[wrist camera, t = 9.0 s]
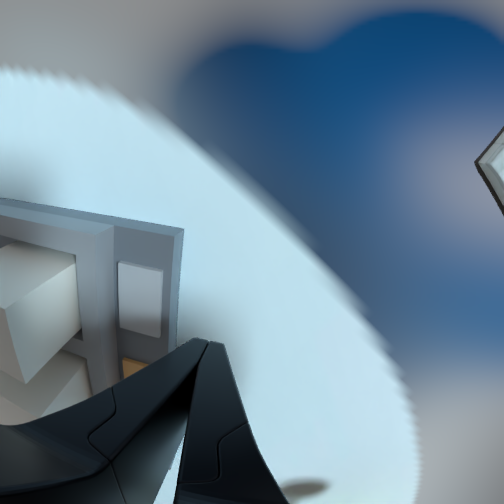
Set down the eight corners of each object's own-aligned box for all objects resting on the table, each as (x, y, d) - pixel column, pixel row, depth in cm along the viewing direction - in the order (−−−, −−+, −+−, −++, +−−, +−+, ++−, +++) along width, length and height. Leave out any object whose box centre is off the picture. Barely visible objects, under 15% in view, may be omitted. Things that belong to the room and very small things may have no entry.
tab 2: (103, 392, 12) (58, 459, 8) (44, 367, 12) (-5, 421, 8) (96, 349, 11) (39, 418, 7) (34, 325, 12) (-25, 377, 7)
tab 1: (92, 317, 11) (25, 384, 7) (29, 294, 11) (-39, 343, 7) (88, 254, 10) (4, 309, 6) (23, 238, 10) (-57, 276, 6)
